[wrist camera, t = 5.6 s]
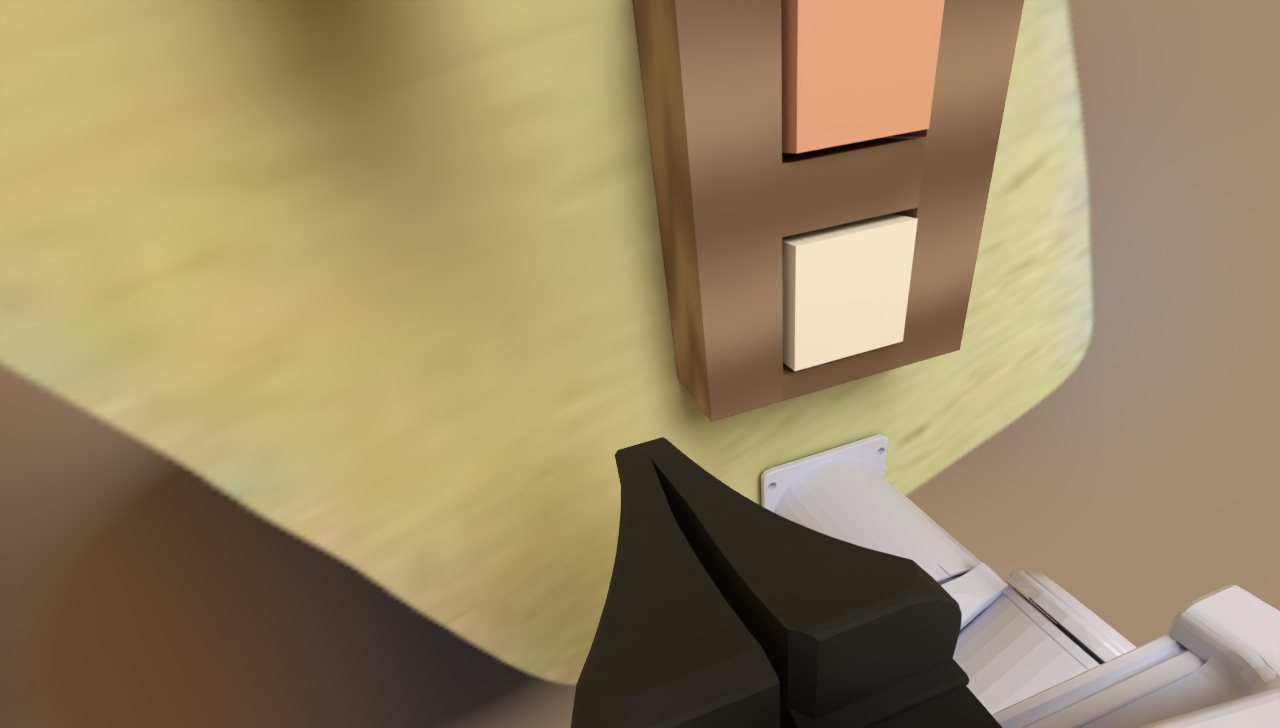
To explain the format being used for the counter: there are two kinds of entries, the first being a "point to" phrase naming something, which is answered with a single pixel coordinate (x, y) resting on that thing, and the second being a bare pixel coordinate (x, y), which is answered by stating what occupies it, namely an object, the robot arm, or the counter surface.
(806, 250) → the offwhite key
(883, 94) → the terracotta key
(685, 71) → the key console
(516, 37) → the counter surface
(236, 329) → the counter surface
